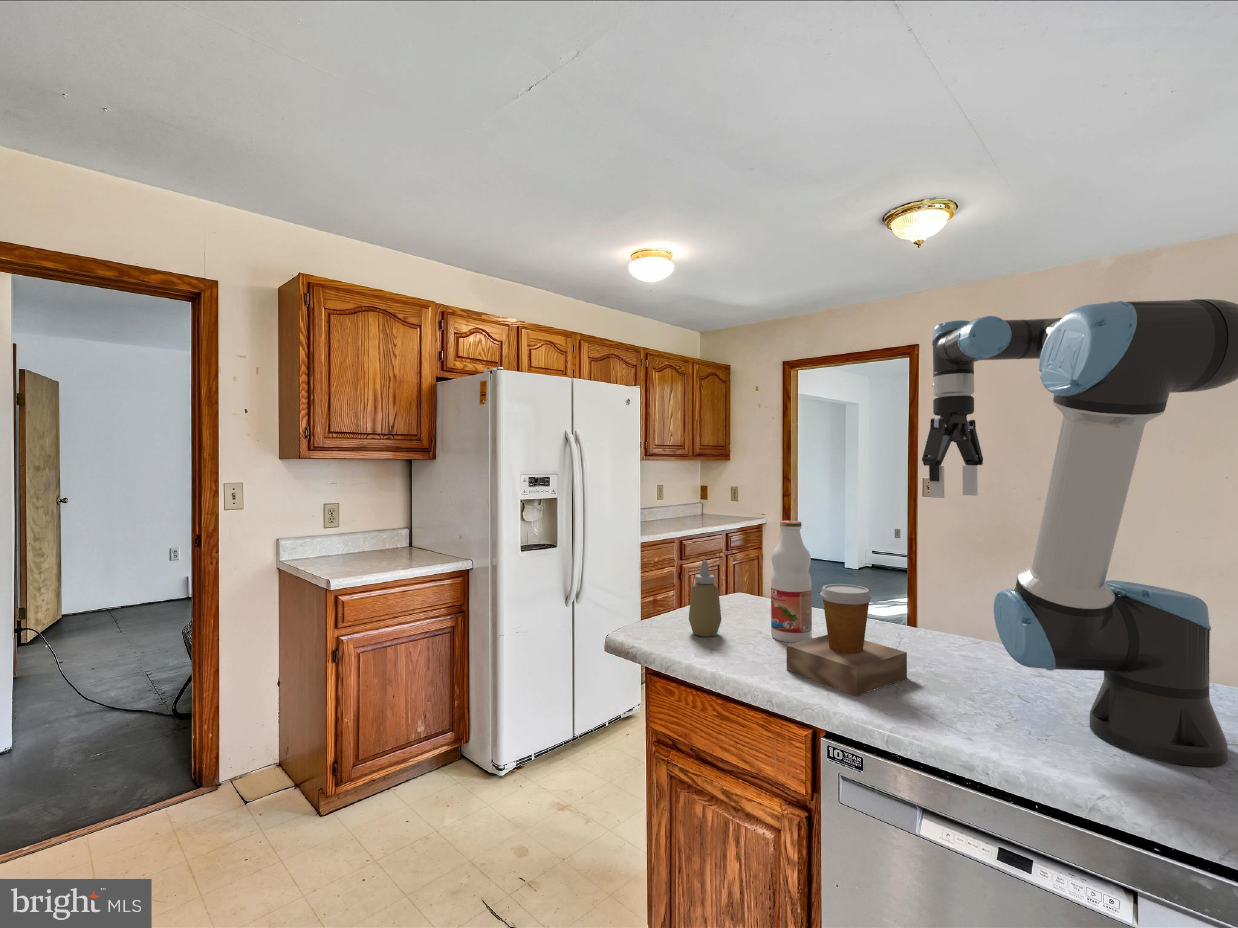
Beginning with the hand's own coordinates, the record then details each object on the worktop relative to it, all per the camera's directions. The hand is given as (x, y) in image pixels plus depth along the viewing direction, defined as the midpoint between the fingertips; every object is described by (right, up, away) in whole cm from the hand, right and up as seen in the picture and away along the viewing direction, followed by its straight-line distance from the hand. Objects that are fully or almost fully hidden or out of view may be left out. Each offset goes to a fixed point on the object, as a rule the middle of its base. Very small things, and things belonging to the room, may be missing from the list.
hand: (953, 496), depth 122 cm
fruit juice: (-30, -35, +16) cm, 49 cm away
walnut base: (-26, -35, -8) cm, 44 cm away
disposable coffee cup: (-26, -30, -8) cm, 40 cm away
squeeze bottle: (-50, -35, +20) cm, 64 cm away
